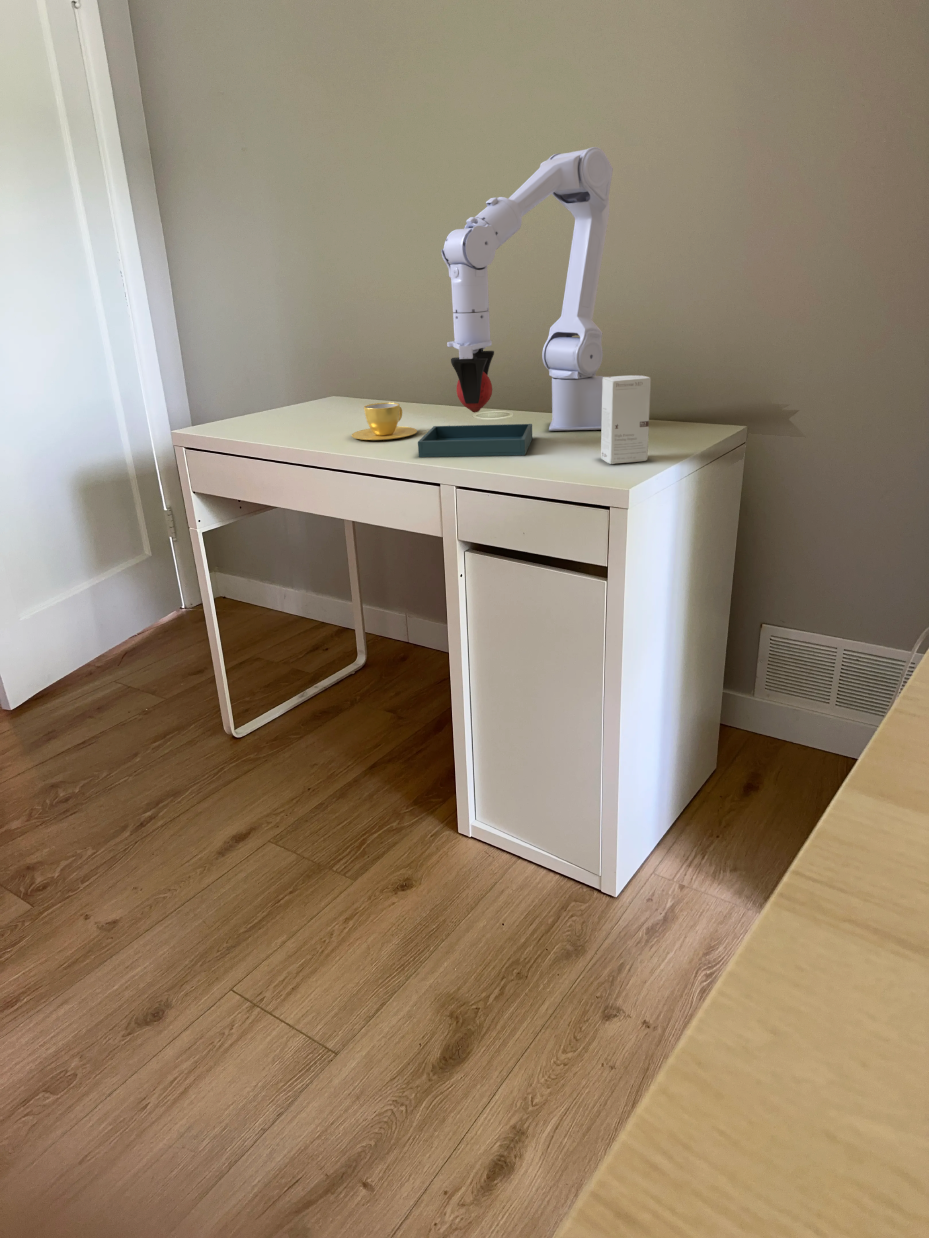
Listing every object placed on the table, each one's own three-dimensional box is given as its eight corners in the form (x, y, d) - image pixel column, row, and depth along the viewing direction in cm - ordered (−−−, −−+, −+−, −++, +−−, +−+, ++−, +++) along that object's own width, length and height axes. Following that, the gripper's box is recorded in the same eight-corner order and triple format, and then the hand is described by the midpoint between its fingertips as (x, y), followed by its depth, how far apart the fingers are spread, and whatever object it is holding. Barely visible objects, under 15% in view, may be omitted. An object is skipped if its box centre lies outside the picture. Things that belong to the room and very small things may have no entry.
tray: (532, 438, 146) (532, 423, 145) (525, 455, 134) (524, 439, 133) (434, 440, 149) (433, 426, 148) (418, 457, 137) (417, 441, 136)
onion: (489, 415, 136) (487, 363, 133) (454, 416, 138) (451, 364, 134) (495, 409, 142) (493, 359, 138) (461, 409, 143) (459, 360, 140)
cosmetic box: (610, 465, 125) (611, 380, 120) (599, 459, 129) (600, 377, 124) (649, 461, 126) (652, 377, 122) (637, 455, 130) (639, 373, 126)
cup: (387, 444, 148) (384, 413, 146) (338, 439, 155) (334, 409, 153) (430, 431, 157) (428, 401, 155) (382, 427, 164) (379, 398, 161)
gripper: (454, 310, 141) (458, 393, 146) (437, 316, 128) (442, 408, 133) (496, 308, 140) (499, 392, 145) (483, 314, 126) (487, 407, 132)
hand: (475, 400), depth 139 cm, fingers closed on onion, 6 cm apart
